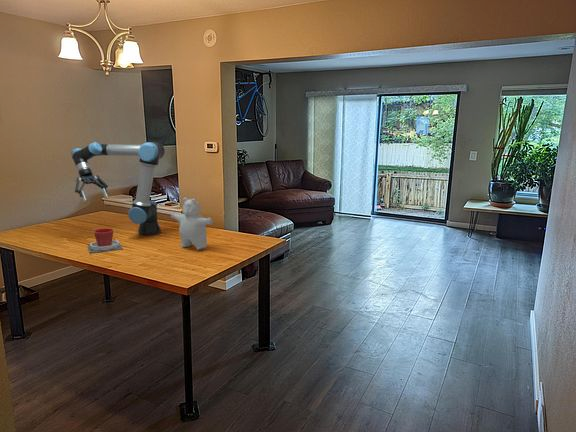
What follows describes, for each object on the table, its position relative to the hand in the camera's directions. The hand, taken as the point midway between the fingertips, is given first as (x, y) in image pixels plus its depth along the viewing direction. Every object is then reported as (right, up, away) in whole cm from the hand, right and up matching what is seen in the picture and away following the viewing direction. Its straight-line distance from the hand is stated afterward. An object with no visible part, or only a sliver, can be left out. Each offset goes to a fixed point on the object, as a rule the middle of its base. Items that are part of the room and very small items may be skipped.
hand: (96, 199), depth 255 cm
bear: (+63, -31, -7) cm, 70 cm away
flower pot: (+10, -29, -10) cm, 32 cm away
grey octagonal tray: (+10, -30, -10) cm, 33 cm away
